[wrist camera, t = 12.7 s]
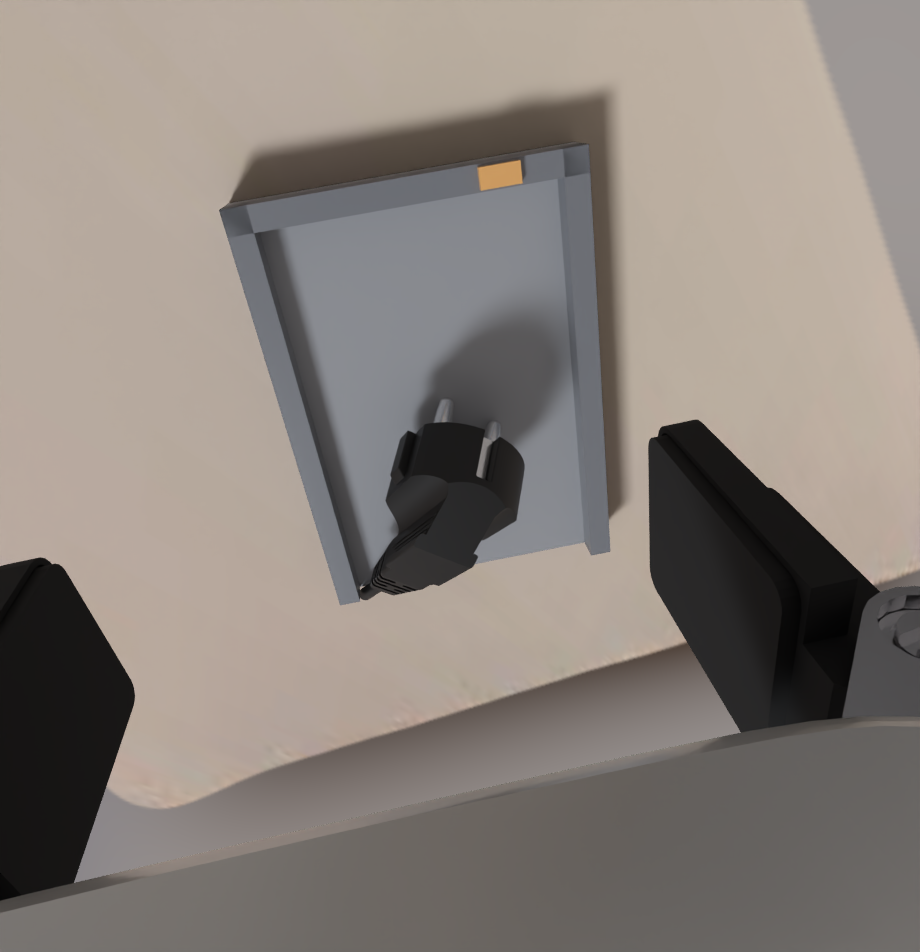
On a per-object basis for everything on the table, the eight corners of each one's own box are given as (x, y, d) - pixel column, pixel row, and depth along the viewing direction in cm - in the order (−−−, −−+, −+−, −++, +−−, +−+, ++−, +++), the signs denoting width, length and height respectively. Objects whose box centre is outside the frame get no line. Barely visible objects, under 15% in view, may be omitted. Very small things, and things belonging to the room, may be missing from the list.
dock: (228, 203, 27) (217, 211, 25) (574, 141, 27) (591, 144, 25) (341, 581, 36) (340, 609, 34) (598, 530, 37) (612, 554, 35)
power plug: (309, 591, 34) (404, 511, 24) (349, 464, 38) (445, 352, 28) (410, 625, 36) (535, 564, 26) (438, 501, 40) (557, 407, 30)
